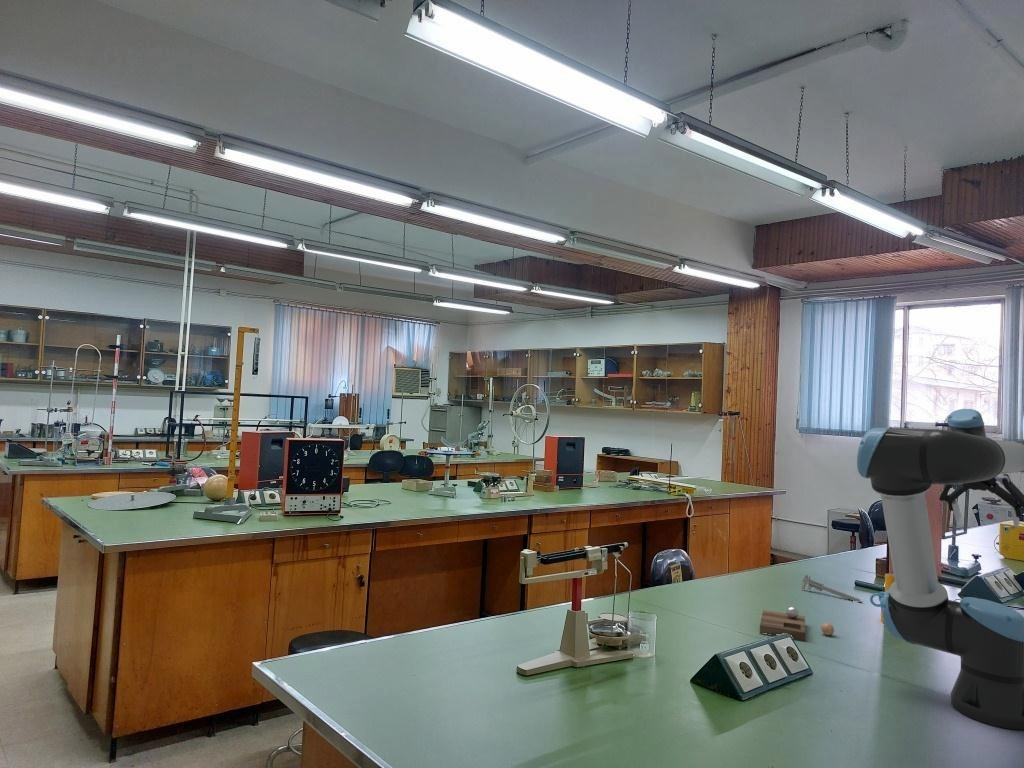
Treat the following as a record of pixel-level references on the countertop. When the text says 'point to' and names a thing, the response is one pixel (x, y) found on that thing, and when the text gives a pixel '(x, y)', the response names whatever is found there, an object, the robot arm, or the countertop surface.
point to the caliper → (825, 588)
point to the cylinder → (888, 581)
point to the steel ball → (792, 612)
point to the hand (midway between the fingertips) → (987, 521)
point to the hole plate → (782, 624)
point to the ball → (827, 629)
